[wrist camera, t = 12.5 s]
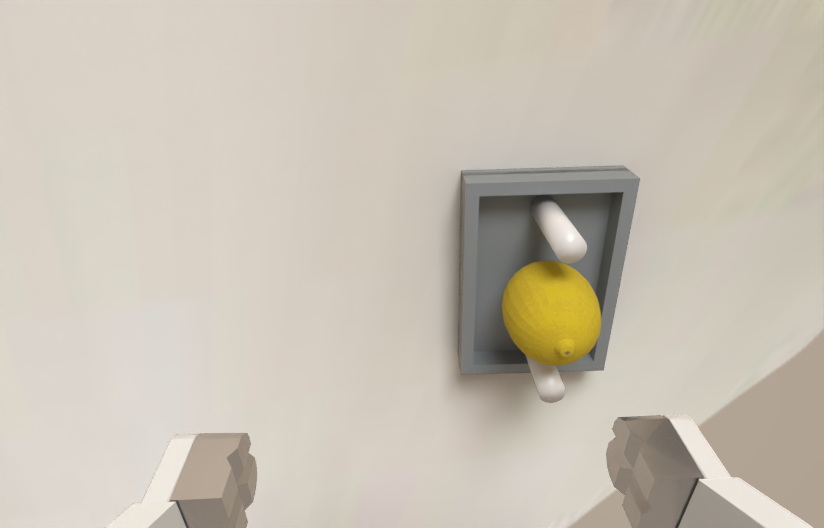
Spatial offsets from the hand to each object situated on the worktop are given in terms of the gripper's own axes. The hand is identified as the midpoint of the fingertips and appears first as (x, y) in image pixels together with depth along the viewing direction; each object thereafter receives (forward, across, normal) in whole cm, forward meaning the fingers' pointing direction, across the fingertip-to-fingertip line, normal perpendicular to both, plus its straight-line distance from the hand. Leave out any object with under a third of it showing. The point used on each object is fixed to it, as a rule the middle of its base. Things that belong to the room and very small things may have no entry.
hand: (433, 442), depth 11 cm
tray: (+22, -8, +9) cm, 25 cm away
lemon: (+21, -8, +9) cm, 24 cm away
